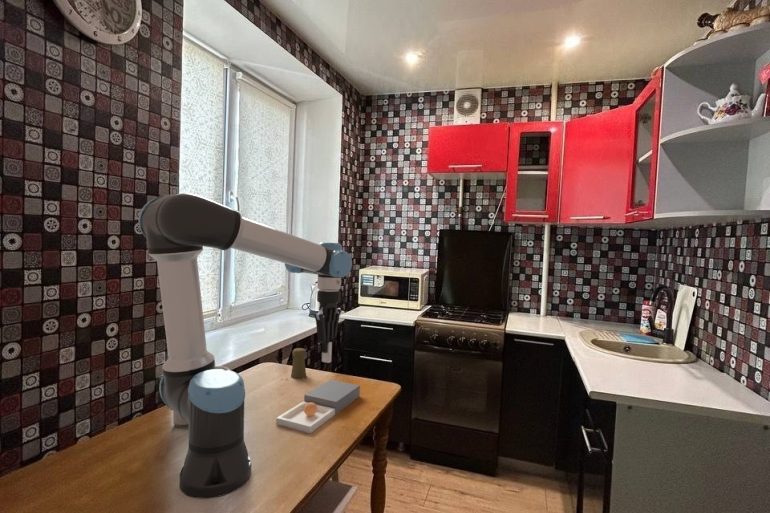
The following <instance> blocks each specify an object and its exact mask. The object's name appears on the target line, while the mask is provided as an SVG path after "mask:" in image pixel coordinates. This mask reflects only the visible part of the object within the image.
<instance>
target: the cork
mask: <svg viewBox="0 0 770 513" xmlns="http://www.w3.org/2000/svg"><path fill="white" fill-rule="evenodd" d="M306 351H307V350H306V349H305V348H301V347H297V348H294V349H293V350H292V357H293V358H292V359H293V360H292V367H291V374H290V378H292V379H297V380H299V379H300V380H301V379H305V378H307V371H306V370H307V369H306V362H305V357H306V354H307V352H306Z"/></svg>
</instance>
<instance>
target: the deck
mask: <svg viewBox="0 0 770 513" xmlns="http://www.w3.org/2000/svg"><path fill="white" fill-rule="evenodd" d="M360 386H361V385H359V384H354V383H350V382H344V381H339V380H335V379H334V380H333V379H329V380H327V381H325V382H323V383H322V384H321V385H319V386H317V387H315V388H314V389H312V390H310V391H309V392H307V393H305V394H304V400H303V401H304V402H308V403H309V402H312V403H314V404H317V405H321V406H325V407H330V408H334V409H335V415H337V414H338V413H340V412H341V411H342V410H344V409H345V408H346V407H347V406H349V405H351V404H352V403H353V402H355V401H356V400H357V399H359V397H360V395H361V394H360V392H361V391H360V390H361V388H360ZM355 399H356V400H355Z"/></svg>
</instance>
